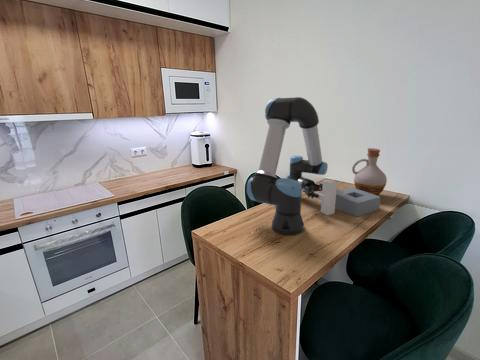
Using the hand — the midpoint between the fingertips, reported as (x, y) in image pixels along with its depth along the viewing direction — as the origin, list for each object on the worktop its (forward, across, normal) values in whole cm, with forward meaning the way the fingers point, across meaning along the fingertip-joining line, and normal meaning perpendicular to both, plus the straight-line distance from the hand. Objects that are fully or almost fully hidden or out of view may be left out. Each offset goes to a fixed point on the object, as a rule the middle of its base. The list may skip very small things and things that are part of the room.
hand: (333, 195), depth 130 cm
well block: (-1, -18, -11) cm, 21 cm away
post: (-3, 0, -11) cm, 11 cm away
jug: (-9, -39, -11) cm, 42 cm away
